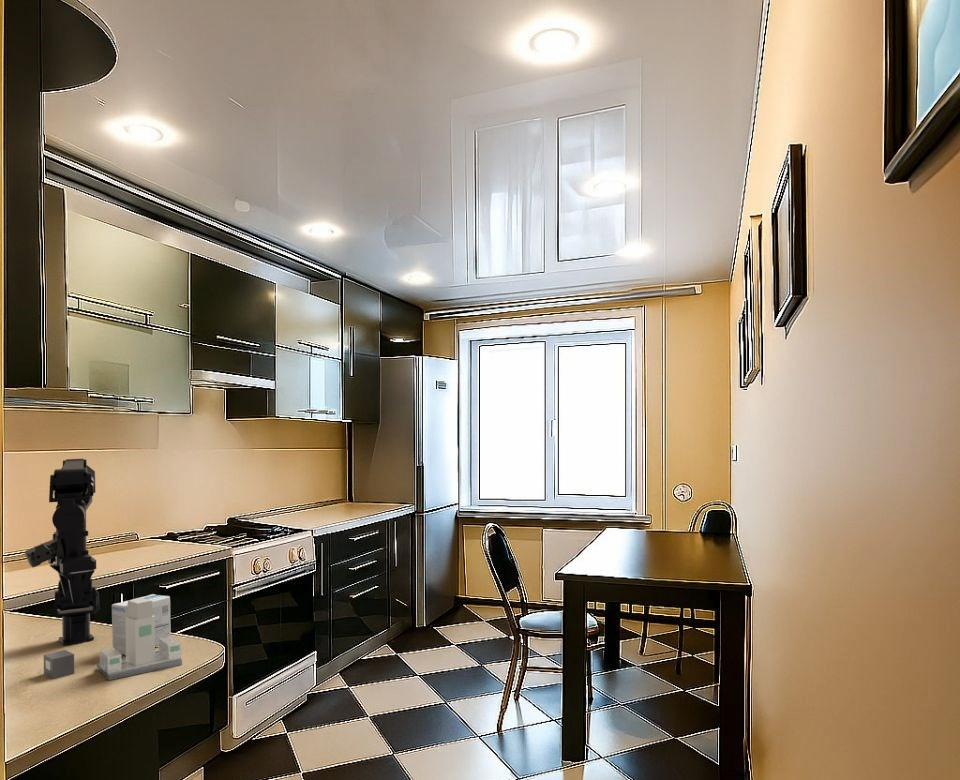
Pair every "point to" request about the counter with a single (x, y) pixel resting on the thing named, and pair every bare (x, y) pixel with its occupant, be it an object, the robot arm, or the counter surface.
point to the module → (140, 632)
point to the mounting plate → (120, 668)
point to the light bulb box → (158, 610)
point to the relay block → (58, 664)
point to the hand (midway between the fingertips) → (71, 600)
